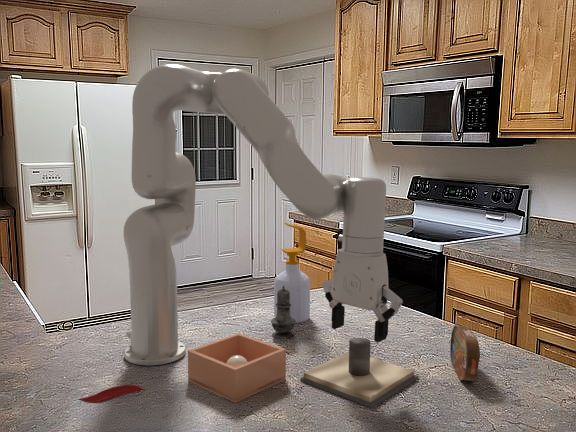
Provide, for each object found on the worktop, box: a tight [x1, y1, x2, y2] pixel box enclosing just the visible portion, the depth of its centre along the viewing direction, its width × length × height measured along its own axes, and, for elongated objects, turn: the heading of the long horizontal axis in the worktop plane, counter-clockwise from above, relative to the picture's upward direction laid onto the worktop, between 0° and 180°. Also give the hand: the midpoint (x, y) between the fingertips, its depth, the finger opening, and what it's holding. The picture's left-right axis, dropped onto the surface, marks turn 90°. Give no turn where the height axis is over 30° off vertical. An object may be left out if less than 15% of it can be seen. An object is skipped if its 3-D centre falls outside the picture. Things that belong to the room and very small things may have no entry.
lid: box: [303, 337, 415, 403], centre depth 106 cm, size 15×15×7 cm
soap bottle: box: [273, 222, 311, 324], centre depth 141 cm, size 9×9×25 cm
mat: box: [300, 374, 419, 409], centre depth 106 cm, size 16×16×1 cm
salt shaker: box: [270, 286, 297, 341], centre depth 129 cm, size 6×6×12 cm
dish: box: [187, 332, 287, 403], centre depth 105 cm, size 13×13×6 cm
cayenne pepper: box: [78, 384, 146, 404], centre depth 99 cm, size 12×5×2 cm, turn 102°
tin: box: [449, 324, 481, 382], centre depth 110 cm, size 15×3×8 cm, turn 174°
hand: (358, 333), depth 105 cm, fingers open, 9 cm apart
